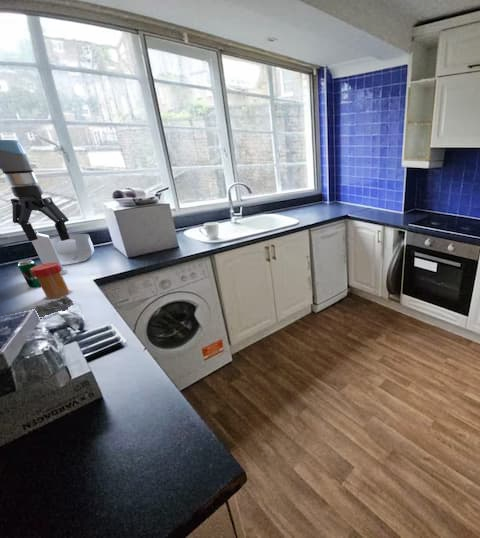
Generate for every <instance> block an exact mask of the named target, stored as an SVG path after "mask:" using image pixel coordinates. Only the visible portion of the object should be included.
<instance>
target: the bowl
mask: <svg viewBox="0 0 480 538" xmlns="http://www.w3.org/2000/svg"><path fill="white" fill-rule="evenodd" d="M68 235H69V238H70V239H68V240H64V241H61V238H60V236H56V237H52V238H50V240H51V242H52V245H53V247H54V249H55V251H56V253H57V256H58V258H59V260H60V262H61V264H62V266H65V265H71V264H76V263H81V262H84V261H86V260H88V259H90V258H92V256H93V255H94V253H95V248H94V244H93V242H92V239H91V237H90V234H88V233H76V234H68Z"/></svg>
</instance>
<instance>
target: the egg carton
mask: <svg viewBox="0 0 480 538" xmlns="http://www.w3.org/2000/svg"><path fill="white" fill-rule="evenodd" d="M71 305H74V301H73V300H72V299H71V298H70V297H68V295H65V296H63V297H60V298H55V300H54V299H51V300H50V301H47V302H45V303H43V304H42V303H41V304H36V305H34V306H33V307H32V308H31V309H30V311H32V309H35V310H36V311H37V313H38V315H39V317H44V316H45V315H49V314H51V313H54V312H58V311H61V310H65V311H67V310H66V309H68V307H70V306H71Z"/></svg>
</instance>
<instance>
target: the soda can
mask: <svg viewBox="0 0 480 538" xmlns="http://www.w3.org/2000/svg"><path fill="white" fill-rule="evenodd" d="M35 266H37V264H36V262H35V261H33V259H25V260H21V261H18V262H17V267H18V268H19V271H20V272H21V275H22V277H23V278H24V280H25V282H26V284H27V286H28V287H29V288H31V289H37V288H40V287H41V285H40V283H39V281H38V279H37V277H34V276H33V275H32V273H31V270H30V269H31V268H32V267H35Z"/></svg>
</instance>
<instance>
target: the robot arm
mask: <svg viewBox="0 0 480 538" xmlns="http://www.w3.org/2000/svg"><path fill="white" fill-rule="evenodd" d="M0 170H1V171H2V173H3V175H4V178H5V180H6V182H7V185H8V186H11V187H10V190H11V192H12V195H13V196H14V197H15V198H11V199H10V203H11V205H12V208H11V209H12V223H14V224H18V225H20V227H21V229H22V231H23V232H24V233H25V236H26V238H27V240H28V241H29V242H32V241H33V240H37V239H38V238H37V236H36V234H37V233H36V231H35V229H34V227H33V225H32V223H31V222H30V218H31V215H32V212H33V211H34V212H35V211H37V212H39V213H42V214H43V215H44V216H45V217H47V218H48V219H49V220H51V221H52V222H54V227H55V229H56V231H57V235H58V237H60V238H61V241H64V240H68V239H70V238H69V235H70V234H68V228H67V226H66V224H65V223H67V222H69V218H68V217H67V216H66V214H64V212H62V210H61V209H60V208H59V207H58V206H57V205H56V203H54V200H53V199H52V197H43V196H42V195H43V194H44V193H43V190H42V188H41V186H40V185H39V181H38V179H37V177H36V175H35V172H34V170H33V167H32V165H31V163H30V160H29V158H28V156H27V153H26V152H25V149H24V148H23V146H22V144H21V142H20V141H19V140H16V139H0Z"/></svg>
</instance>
